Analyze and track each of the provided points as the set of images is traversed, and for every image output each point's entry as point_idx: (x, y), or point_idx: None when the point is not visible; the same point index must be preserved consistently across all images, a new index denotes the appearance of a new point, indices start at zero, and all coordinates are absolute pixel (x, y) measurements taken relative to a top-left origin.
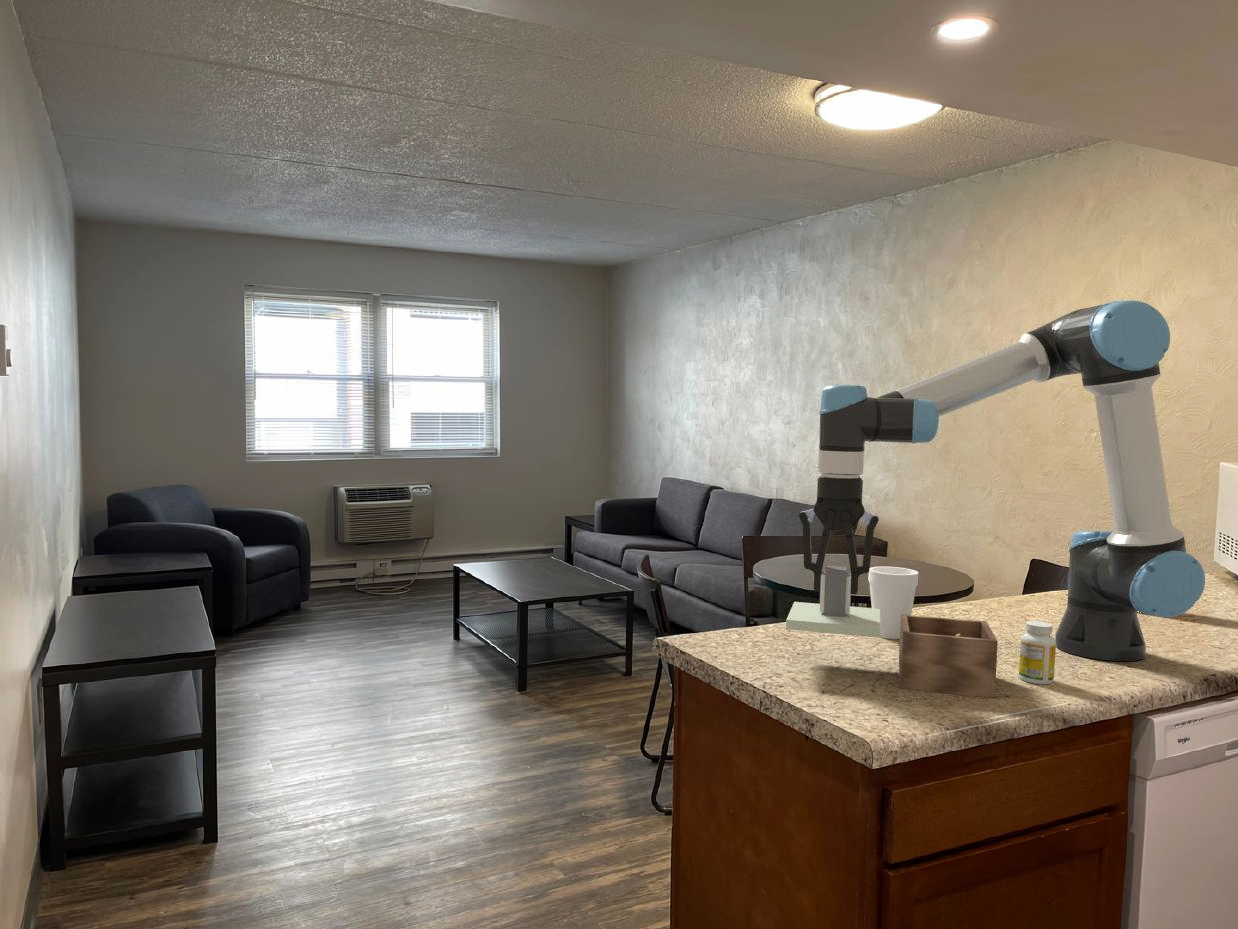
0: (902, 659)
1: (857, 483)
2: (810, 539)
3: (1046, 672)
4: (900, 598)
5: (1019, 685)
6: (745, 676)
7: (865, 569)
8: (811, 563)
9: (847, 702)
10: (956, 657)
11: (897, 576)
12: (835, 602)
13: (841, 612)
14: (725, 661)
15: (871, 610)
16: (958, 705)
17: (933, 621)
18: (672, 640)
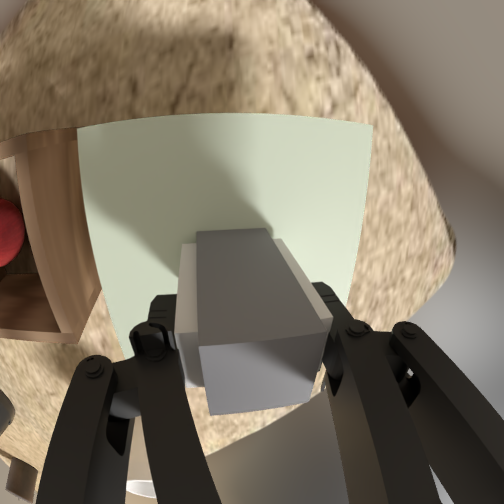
0: (58, 129)
1: None
2: (469, 444)
3: None
4: (138, 447)
5: None
6: (371, 102)
7: (93, 368)
8: (395, 353)
9: (184, 4)
10: None
11: (142, 478)
12: (234, 250)
13: (208, 236)
14: (401, 183)
15: None
16: (12, 88)
17: (21, 326)
18: (447, 265)
